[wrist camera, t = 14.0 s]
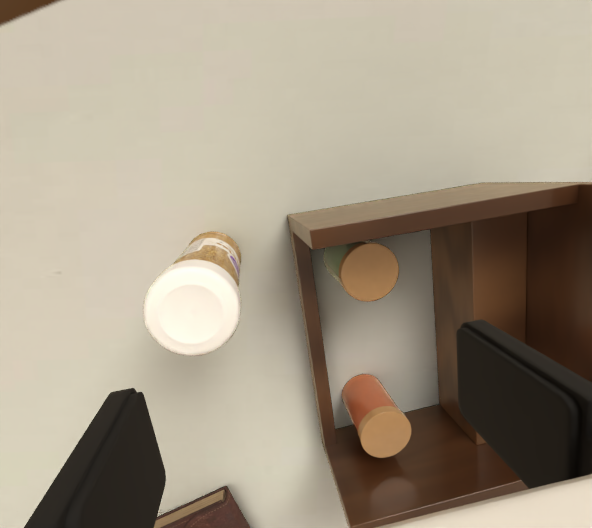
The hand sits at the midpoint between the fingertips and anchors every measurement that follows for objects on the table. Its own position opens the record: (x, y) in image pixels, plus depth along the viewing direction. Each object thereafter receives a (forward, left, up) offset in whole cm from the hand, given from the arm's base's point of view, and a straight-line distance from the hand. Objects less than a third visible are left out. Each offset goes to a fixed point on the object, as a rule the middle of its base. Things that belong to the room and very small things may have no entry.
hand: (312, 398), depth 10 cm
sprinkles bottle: (-1, -4, -21) cm, 21 cm away
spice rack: (+8, +12, -21) cm, 25 cm away
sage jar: (+1, +7, -21) cm, 22 cm away
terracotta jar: (+15, +7, -21) cm, 27 cm away
